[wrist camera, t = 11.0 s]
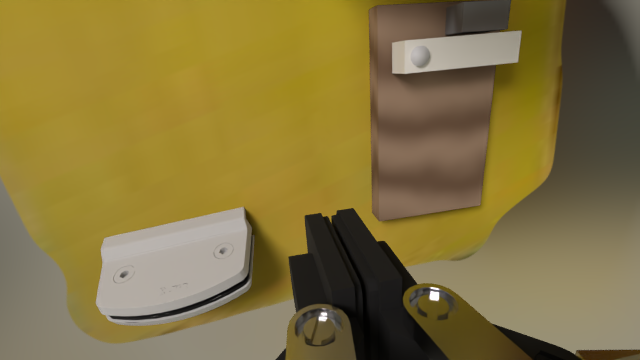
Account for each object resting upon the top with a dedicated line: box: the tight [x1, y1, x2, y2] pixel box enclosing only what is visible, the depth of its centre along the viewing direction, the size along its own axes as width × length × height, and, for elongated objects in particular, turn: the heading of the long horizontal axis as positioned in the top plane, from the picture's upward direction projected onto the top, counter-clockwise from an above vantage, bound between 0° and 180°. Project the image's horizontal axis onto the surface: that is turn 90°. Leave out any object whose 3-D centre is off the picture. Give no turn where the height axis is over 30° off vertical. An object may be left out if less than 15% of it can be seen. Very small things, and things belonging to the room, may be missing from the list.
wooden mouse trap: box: [369, 0, 511, 221], centre depth 37 cm, size 24×14×6 cm, turn 4°
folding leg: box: [392, 31, 522, 74], centre depth 33 cm, size 12×3×3 cm, turn 95°
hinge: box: [96, 207, 254, 326], centre depth 35 cm, size 17×5×10 cm, turn 99°
